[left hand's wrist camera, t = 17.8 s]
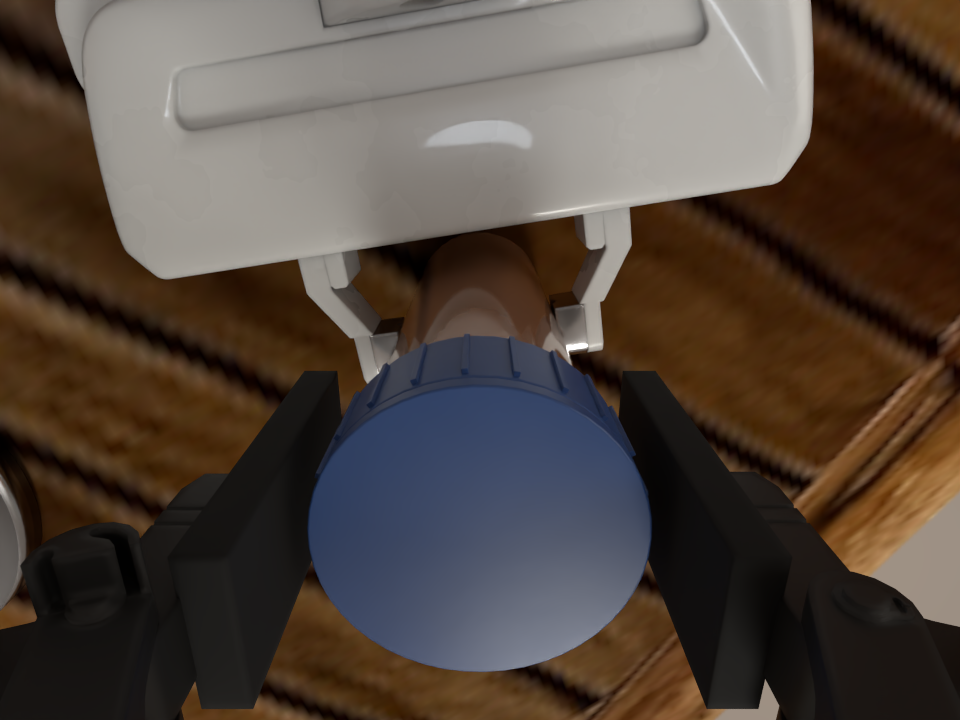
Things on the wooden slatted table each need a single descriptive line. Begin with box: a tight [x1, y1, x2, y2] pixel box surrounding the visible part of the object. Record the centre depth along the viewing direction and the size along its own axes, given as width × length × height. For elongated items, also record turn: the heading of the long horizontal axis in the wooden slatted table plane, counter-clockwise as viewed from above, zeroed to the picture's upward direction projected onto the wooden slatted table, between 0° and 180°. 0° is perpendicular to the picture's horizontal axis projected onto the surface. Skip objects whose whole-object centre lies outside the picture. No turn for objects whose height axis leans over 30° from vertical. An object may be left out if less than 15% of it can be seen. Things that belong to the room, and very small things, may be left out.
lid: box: [307, 334, 652, 672], centre depth 11 cm, size 6×6×2 cm
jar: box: [387, 232, 575, 368], centre depth 19 cm, size 5×5×17 cm
